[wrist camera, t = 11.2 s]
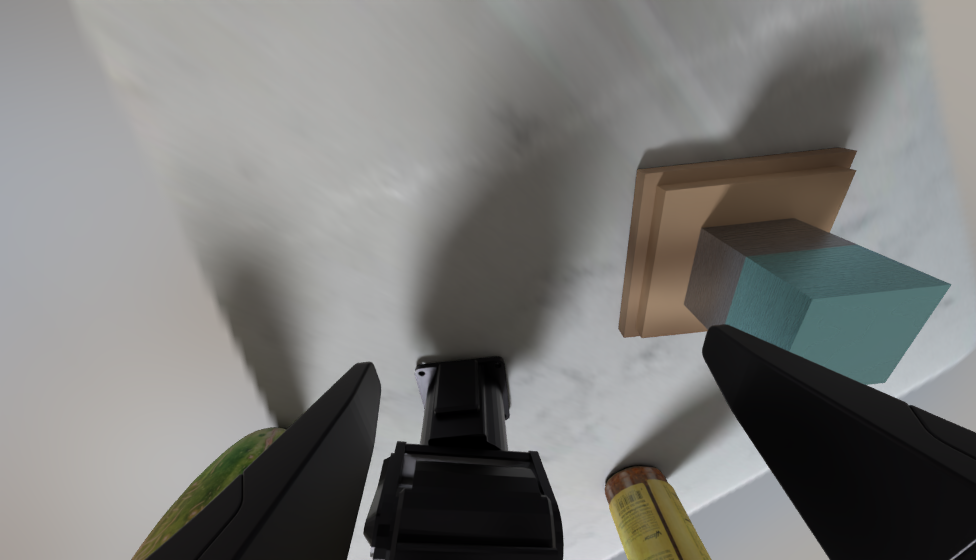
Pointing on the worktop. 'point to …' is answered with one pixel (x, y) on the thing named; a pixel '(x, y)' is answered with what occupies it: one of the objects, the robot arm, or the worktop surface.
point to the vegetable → (208, 487)
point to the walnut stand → (715, 222)
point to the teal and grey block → (811, 295)
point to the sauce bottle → (651, 517)
